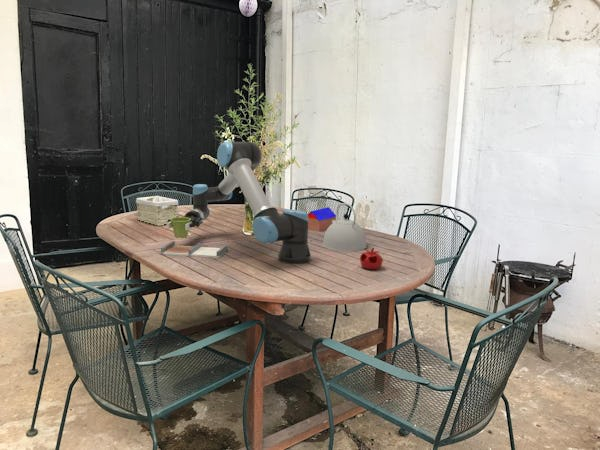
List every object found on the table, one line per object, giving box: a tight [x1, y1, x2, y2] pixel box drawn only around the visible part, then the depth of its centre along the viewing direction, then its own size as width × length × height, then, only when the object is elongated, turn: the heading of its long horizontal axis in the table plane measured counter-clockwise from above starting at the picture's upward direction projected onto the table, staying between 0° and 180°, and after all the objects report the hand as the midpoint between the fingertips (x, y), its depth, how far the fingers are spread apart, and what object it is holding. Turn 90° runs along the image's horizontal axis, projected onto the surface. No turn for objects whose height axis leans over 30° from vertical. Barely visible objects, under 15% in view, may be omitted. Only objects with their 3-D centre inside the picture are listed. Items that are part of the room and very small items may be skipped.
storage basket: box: [135, 195, 179, 226], centre depth 296 cm, size 24×16×15 cm
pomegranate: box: [359, 247, 384, 270], centre depth 214 cm, size 10×10×9 cm
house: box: [307, 206, 337, 232], centre depth 294 cm, size 12×20×12 cm, turn 146°
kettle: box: [322, 202, 367, 252], centre depth 251 cm, size 25×23×22 cm
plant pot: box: [170, 216, 191, 239], centre depth 230 cm, size 9×9×9 cm
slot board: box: [160, 240, 229, 259], centre depth 231 cm, size 28×14×3 cm, turn 82°
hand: (176, 226), depth 225 cm, fingers closed on plant pot, 8 cm apart
